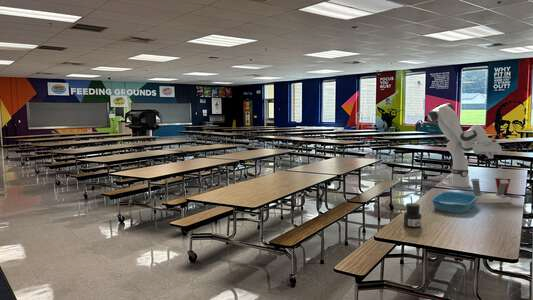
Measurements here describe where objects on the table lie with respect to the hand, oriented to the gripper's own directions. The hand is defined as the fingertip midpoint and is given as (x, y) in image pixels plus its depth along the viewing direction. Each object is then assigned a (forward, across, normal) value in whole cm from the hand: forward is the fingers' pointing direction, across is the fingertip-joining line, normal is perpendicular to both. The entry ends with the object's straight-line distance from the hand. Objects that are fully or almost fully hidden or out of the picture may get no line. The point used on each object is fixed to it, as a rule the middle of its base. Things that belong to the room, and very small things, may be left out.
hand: (491, 158), depth 273 cm
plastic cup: (+14, +17, +26) cm, 34 cm away
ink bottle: (+66, -87, -27) cm, 113 cm away
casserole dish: (+41, -43, -1) cm, 59 cm away
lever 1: (+26, -17, +7) cm, 32 cm away
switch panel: (+29, -9, +10) cm, 32 cm away
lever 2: (+26, -1, +7) cm, 27 cm away
